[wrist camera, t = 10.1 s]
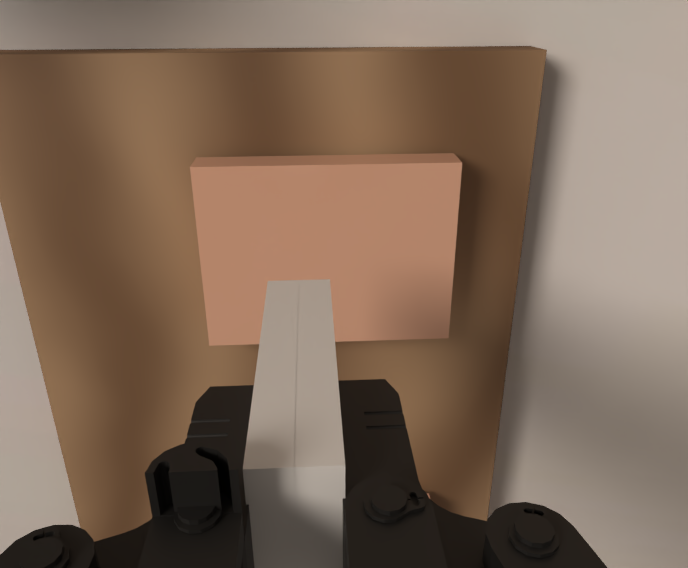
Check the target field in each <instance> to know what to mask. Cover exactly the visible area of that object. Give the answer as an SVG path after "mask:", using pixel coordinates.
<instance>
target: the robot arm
mask: <svg viewBox="0 0 688 568" xmlns="http://www.w3.org/2000/svg"><path fill="white" fill-rule="evenodd" d="M145 479H146V484H147V490H148V495H149V501H150V507H151V512H152V519H151V520H149V521H148V522H146V523H144V524H143V525H141V526H139V527H138V528H135V529H133V530H130V531H127V532H125V533H122V534H119V535H115V536H112V537H109V538H105V539H102V540H99V541H95V542H94V540H93V539H92V537H91V536H90V535H89V534H88V533H87V531H86V530H84V529H81V528H79V527H76V526H73V525H52V526H49V527H45V528H42V529H38V530H35V531H33V532H31V533H29V534H27V535H25V536H24V537H22V538H20V539H18V540H16V541H15V542H14V543H13V544H12V545H11V546H9V547H8V548H7V549H6V550H5V551H4V552H3V553H2V554H1V555H0V568H607V567H606V565H605V564H604V563H603V562H602V561H601V559H600V558H599V557H598V556H597V554H596V553H595V552H594V551H593V550H592V548H591V547H590V546H589V545H588V543H587V542H586V541H585V540H584V539H583V537H582V536H581V535H580V534H579V532H578V531H577V530H576V529H575V528H574V526H573V525H572V524H570V523H569V522H568V521H567V520H566V519H565V518H564V517H563V516H561V515H560V514H559V513H557V512H555V511H553V510H551V509H549V508H547V507H545V506H541V505H537V504H532V503H527V502H522V503H509V504H507V505H505V506H502V507H500V508H498V509H496V510H495V511H494V512H493V513H492V515H491V516H490V517H489V518H488V520H487V521H484V520H480V519H475V518H471V517H466V516H462V515H459V514H456V513H452V512H450V511H448V510H446V509H444V508H442V507H440V506H438V505H437V504H436V503H435V502H433V501H432V500H431V499H430V498H429V497H428V495H427V493H426V492H425V491H424V490H423V489H422V487H421V485H420V482H419V479H418V475H417V471H416V466H415V462H414V458H413V453H412V449H411V445H410V440H409V436H408V432H407V428H406V423H405V419H404V414H403V410H402V406H401V401H400V397H399V393H398V392H397V391H396V390H395V389H394V388H393V387H392V386H391V385H390V384H389V383H388V382H387V380H386V379H369V380H339V381H338V371H337V359H336V347H335V335H334V323H333V311H332V299H331V287H330V279H321V280H282V281H268V283H267V290H266V298H265V305H264V313H263V320H262V328H261V335H260V343H259V350H258V358H257V366H256V373H255V381H254V385H242V386H212V387H209V388H208V390H207V391H206V392H205V393H204V394H203V395H202V396H201V397H200V398H199V399H198V400H197V401H196V403H195V407H194V410H193V414H192V418H191V424H190V425H189V429H188V433H187V438H186V440H185V444H180V445H178V446H176V447H173V448H171V449H169V450H166V451H164V452H163V453H162V454H161V455H159V456H158V457H157V458H155V459H154V460H153V461H152V462H151V464H150V465H149V467H148V469H147V470H146V472H145Z"/></svg>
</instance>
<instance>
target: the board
mask: <svg viewBox="0 0 688 568" xmlns="http://www.w3.org/2000/svg"><path fill="white" fill-rule="evenodd" d="M546 52H547V50H544V49H540V48H536V47H532V46H488V47H354V48H221V49H88V50H0V202H1V206H2V210H3V214H4V218H5V222H6V227H7V231H8V235H9V239H10V243H11V247H12V251H13V255H14V259H15V263H16V267H17V271H18V275H19V279H20V283H21V287H22V292H23V296H24V300H25V304H26V308H27V312H28V316H29V320H30V324H31V328H32V332H33V336H34V340H35V344H36V348H37V352H38V357H39V361H40V365H41V369H42V373H43V377H44V381H45V385H46V389H47V393H48V397H49V401H50V405H51V409H52V413H53V418H54V422H55V426H56V430H57V434H58V438H59V442H60V446H61V450H62V454H63V458H64V462H65V466H66V470H67V474H68V478H69V483H70V487H71V491H72V495H73V499H74V503H75V507H76V511H77V515H78V519H79V523H80V527H81V529H84V530H86V531H87V533H88V534H89V535H90V536H91V537H92V539H93V540H94V542H95V541H99V540H102V539H105V538H109V537H112V536H115V535H119V534H122V533H125V532H127V531H130V530H133V529H135V528H138V527H139V526H141V525H143V524H144V523H146V522H148V521H149V520H151V519H152V512H151V507H150V501H149V495H148V490H147V484H146V479H145V472H146V470H147V469H148V467H149V465H150V464H151V462H152V461H153V460H154V459H155V458H157V457H158V456H159V455H161V454H162V453H163V452H164V451H166V450H169V449H171V448H173V447H176V446H178V445H180V444H185V440H186V438H187V433H188V429H189V425H190V424H191V418H192V414H193V410H194V407H195V403H196V401H197V400H198V399H199V398H200V397H201V396H202V395H203V394H204V393H205V392H206V391H207V390H208V388H209V387H212V386H242V385H254V381H255V373H256V366H257V358H258V350H259V344H248V345H216V346H209V338H208V329H207V320H206V310H205V301H204V292H203V283H202V274H201V265H200V256H199V246H198V237H197V228H196V219H195V210H194V201H193V192H192V182H191V173H190V166H191V165H192V163H193V162H194V160H195V159H196V157H248V156H310V155H371V154H433V153H454V154H455V155H456V156H457V157H458V158H459V160H460V161H461V162H462V173H461V186H460V198H459V211H458V224H457V236H456V249H455V262H454V275H453V287H452V300H451V313H450V325H449V338H441V339H409V340H377V341H344V342H335V347H336V359H337V371H338V381H339V380H369V379H386V380H387V382H388V383H389V384H390V385H391V386H392V387H393V388H394V389H395V390H396V391H397V392H398V393H399V397H400V401H401V406H402V410H403V414H404V419H405V423H406V428H407V432H408V436H409V440H410V445H411V449H412V453H413V458H414V462H415V466H416V471H417V475H418V479H419V482H420V485H421V487H422V489H423V490H424V491H425V492H426V493H429V495H430V499H431V500H432V501H433V502H435V503H436V504H437V505H438V506H440V507H442V508H444V509H446V510H448V511H450V512H452V513H456V514H459V515H462V516H466V517H471V518H475V519H480V520H484V521H487V516H488V509H489V501H490V493H491V485H492V477H493V469H494V461H495V453H496V446H497V438H498V430H499V422H500V414H501V406H502V398H503V390H504V382H505V375H506V367H507V359H508V351H509V343H510V335H511V327H512V319H513V312H514V304H515V296H516V288H517V280H518V272H519V264H520V256H521V249H522V241H523V233H524V225H525V217H526V209H527V201H528V193H529V185H530V178H531V170H532V162H533V154H534V146H535V138H536V130H537V122H538V115H539V107H540V99H541V91H542V83H543V75H544V67H545V59H546Z"/></svg>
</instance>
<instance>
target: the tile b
mask: <svg viewBox="0 0 688 568" xmlns="http://www.w3.org/2000/svg"><path fill="white" fill-rule="evenodd" d="M190 173H191V182H192V192H193V201H194V210H195V219H196V228H197V237H198V246H199V256H200V265H201V274H202V283H203V292H204V301H205V310H206V320H207V329H208V338H209V346H216V345H248V344H259V343H260V335H261V328H262V320H263V313H264V305H265V298H266V290H267V283H268V281H282V280H321V279H330V287H331V299H332V311H333V323H334V335H335V342H344V341H377V340H409V339H441V338H449V325H450V313H451V300H452V287H453V275H454V262H455V249H456V236H457V224H458V211H459V198H460V186H461V173H462V162H461V161H460V160H459V158H458V157H457V156H456V155H455V154H454V153H433V154H371V155H310V156H248V157H196V159H195V160H194V162H193V163H192V165H191V166H190Z"/></svg>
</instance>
